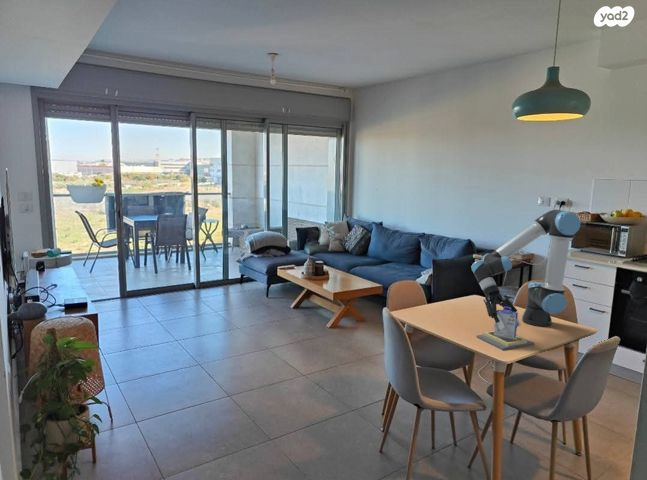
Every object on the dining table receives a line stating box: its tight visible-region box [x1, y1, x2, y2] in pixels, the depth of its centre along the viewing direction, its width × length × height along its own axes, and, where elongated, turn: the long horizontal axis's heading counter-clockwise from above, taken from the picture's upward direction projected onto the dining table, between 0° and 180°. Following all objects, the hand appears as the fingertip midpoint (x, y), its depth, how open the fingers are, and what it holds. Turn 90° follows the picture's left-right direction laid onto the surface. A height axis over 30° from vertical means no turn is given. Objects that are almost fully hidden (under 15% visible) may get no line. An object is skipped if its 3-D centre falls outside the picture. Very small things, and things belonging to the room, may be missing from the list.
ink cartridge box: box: [493, 306, 519, 338], centre depth 220 cm, size 10×6×14 cm, turn 57°
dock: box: [475, 330, 535, 351], centre depth 222 cm, size 20×18×2 cm
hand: (510, 327), depth 218 cm, fingers closed on ink cartridge box, 9 cm apart
